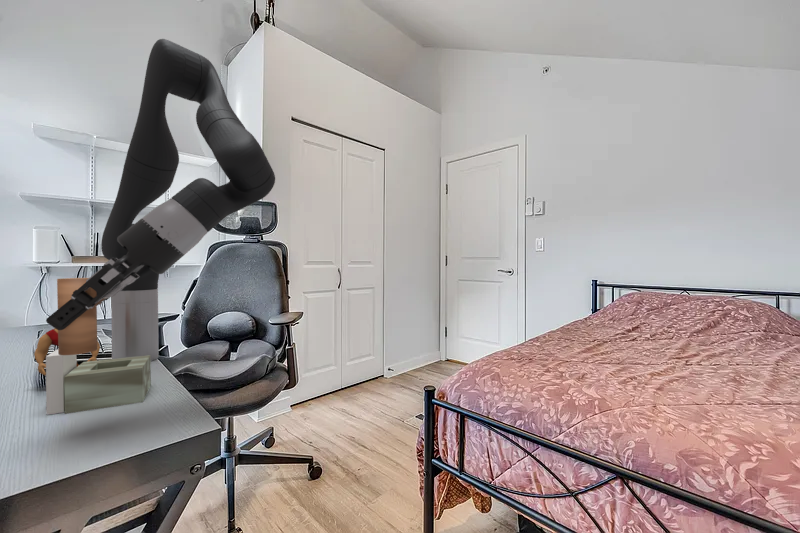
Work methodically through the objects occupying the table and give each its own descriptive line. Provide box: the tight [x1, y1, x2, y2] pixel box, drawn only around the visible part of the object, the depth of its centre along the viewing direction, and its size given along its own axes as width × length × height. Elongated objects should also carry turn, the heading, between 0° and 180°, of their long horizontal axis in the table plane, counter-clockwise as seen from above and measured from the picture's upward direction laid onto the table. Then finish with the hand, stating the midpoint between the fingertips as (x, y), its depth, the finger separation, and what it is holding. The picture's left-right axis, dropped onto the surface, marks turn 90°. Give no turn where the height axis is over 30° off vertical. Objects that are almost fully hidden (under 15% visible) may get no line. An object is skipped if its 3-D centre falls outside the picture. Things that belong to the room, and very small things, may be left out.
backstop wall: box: [45, 348, 78, 416], centre depth 60 cm, size 8×2×9 cm, turn 30°
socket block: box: [64, 355, 152, 415], centre depth 64 cm, size 10×10×6 cm
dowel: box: [56, 277, 98, 356], centre depth 50 cm, size 4×4×10 cm
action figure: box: [33, 327, 101, 376], centre depth 71 cm, size 10×4×15 cm, turn 129°
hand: (59, 322), depth 49 cm, fingers closed on dowel, 4 cm apart
